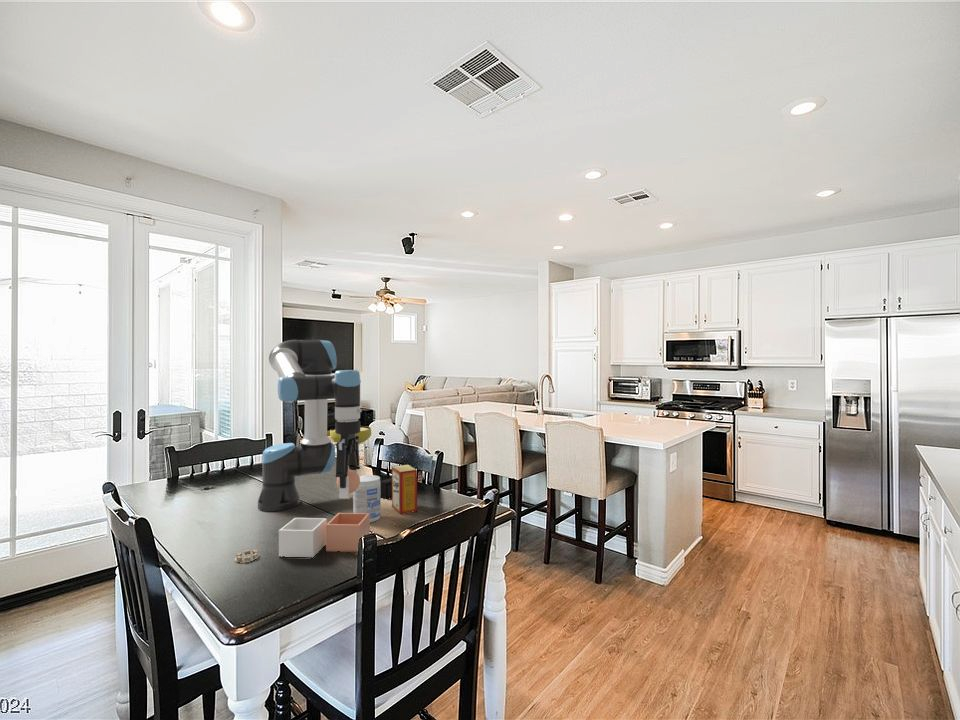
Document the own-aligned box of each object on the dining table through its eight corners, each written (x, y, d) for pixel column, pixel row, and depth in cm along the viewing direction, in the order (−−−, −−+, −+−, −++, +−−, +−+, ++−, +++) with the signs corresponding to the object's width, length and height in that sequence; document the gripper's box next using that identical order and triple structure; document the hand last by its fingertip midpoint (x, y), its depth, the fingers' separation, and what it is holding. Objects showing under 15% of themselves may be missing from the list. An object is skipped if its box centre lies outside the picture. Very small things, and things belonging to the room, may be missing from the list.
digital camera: (388, 500, 185) (388, 483, 185) (379, 498, 188) (379, 481, 188) (406, 494, 193) (406, 477, 193) (398, 491, 197) (397, 475, 197)
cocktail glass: (341, 477, 220) (340, 425, 219) (377, 478, 217) (377, 425, 217) (323, 488, 202) (322, 431, 201) (362, 489, 199) (362, 432, 199)
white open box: (278, 557, 133) (278, 530, 133) (295, 543, 143) (294, 517, 143) (313, 558, 133) (312, 531, 133) (327, 543, 143) (326, 518, 143)
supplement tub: (371, 525, 158) (371, 482, 158) (347, 522, 161) (347, 480, 161) (385, 515, 168) (385, 475, 167) (362, 513, 170) (362, 473, 170)
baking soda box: (392, 507, 177) (391, 465, 177) (408, 504, 180) (407, 463, 180) (400, 514, 169) (400, 471, 169) (417, 511, 172) (416, 468, 172)
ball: (333, 496, 139) (332, 473, 139) (341, 489, 146) (341, 467, 146) (355, 496, 138) (355, 473, 138) (363, 489, 145) (362, 467, 145)
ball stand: (230, 563, 130) (230, 558, 130) (243, 553, 136) (243, 548, 136) (252, 563, 129) (251, 559, 129) (264, 553, 136) (263, 549, 136)
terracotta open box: (326, 551, 138) (325, 524, 137) (338, 537, 148) (338, 512, 148) (359, 552, 137) (359, 525, 137) (369, 538, 147) (369, 513, 147)
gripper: (348, 425, 132) (349, 504, 132) (369, 415, 151) (369, 485, 152) (323, 424, 132) (323, 504, 132) (347, 415, 152) (347, 485, 152)
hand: (348, 494), depth 142 cm, fingers closed on ball, 7 cm apart
